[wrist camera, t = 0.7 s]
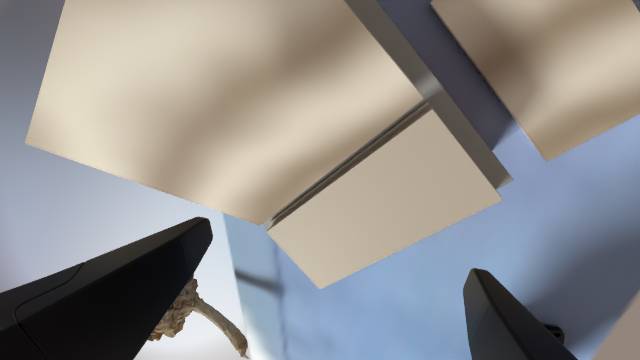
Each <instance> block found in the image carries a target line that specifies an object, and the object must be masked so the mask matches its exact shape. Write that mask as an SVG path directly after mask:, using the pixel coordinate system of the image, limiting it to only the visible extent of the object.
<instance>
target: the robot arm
mask: <svg viewBox="0 0 640 360" xmlns="http://www.w3.org/2000/svg"><path fill="white" fill-rule="evenodd" d="M212 238H213V234H212V229H211V225H210V221H209V219H207V218H203V217H195V218H193V219H190V220H188V221H185V222H183V223H180V224H178V225H175V226H173V227H170V228H168V229H165V230H163V231H160V232H158V233H155V234H153V235H150V236H148V237H145V238H143V239H140V240H138V241H135V242H133V243H130V244H128V245H125V246H123V247H120V248H118V249H115V250H113V251H110V252H108V253H105V254H103V255H100V256H98V257H95V258H93V259H90V260H88V261H86V262H82V263H80V264H77V265H75V266H73V267H70V268H67V269H65V270H62V271H60V272H57V273H55V274H52V275H49V276H47V277H44V278H41V279H38V280H36V281H33V282H30V283H27V284H24V285H22V286H19V287H16V288H13V289H10V290H8V291H5V292H2V293H0V360H133V359H134V358H135V356H136V355H137V354H138V352H139V351H140V350H141V348H142V347H143V345H144V344H145V342H146V341H147V340H148V338H149V337H150V335H151V334H152V332H153V331H154V330H155V328H156V327H157V325H158V324H159V323H160V321H161V320H162V318H163V317H164V315H165V314H166V313H167V311H168V310H169V308H170V307H171V306H172V304H173V303H174V301H175V300H176V298H177V297H178V296H179V294H180V293H181V291H182V290H183V288H184V287H185V286H186V284H187V283H188V281H189V280H190V278H191V277H192V275H193V273H194V271H195V270H196V268H197V267H198V265H199V263H200V261H201V260H202V258H203V256H204V254H205V253H206V251H207V249H208V247H209V245H210V244H211V241H212ZM463 297H464V305H465V314H466V323H467V332H468V340H469V347H470V352H471V356H472V360H578V359H577V358H576V357H575V356H574V355H573V354H572V353H571V352H570V351H569V350H568V349H567V348H566V347H565V346H564V345H563V344H564V333H563V331H562V330H561V329H560V328H559V327H553V326H543V325H542V324H541V323H540V322H539V321H538V320H537V319H536V318H535V317H534V316H533V315H532V314H531V313H530V312H529V311H528V310H527V309H526V308H525V307H524V306H523V305H522V304H521V303H520V302H519V301H518V300H517V299H516V298H515V297H514V296H513V295H512V294H511V293H510V292H509V291H508V290H507V289H506V288H505V287H504V286H503V285H502V284H501V283H500V282H499V281H498V280H497V279H496V278H495V277H494V276H493V275H492V274H491V273H490V272H488V271H487V270H482V269H477V268H473V269H471V270H470V273H469V275H468V277H467V280H466V282H465V285H464V288H463Z"/></svg>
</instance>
